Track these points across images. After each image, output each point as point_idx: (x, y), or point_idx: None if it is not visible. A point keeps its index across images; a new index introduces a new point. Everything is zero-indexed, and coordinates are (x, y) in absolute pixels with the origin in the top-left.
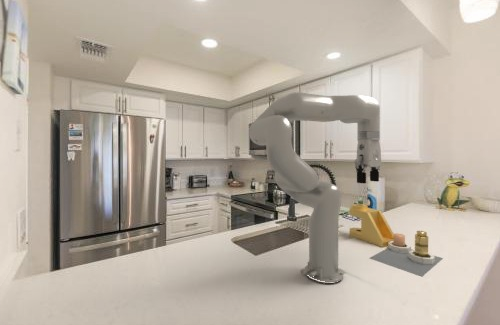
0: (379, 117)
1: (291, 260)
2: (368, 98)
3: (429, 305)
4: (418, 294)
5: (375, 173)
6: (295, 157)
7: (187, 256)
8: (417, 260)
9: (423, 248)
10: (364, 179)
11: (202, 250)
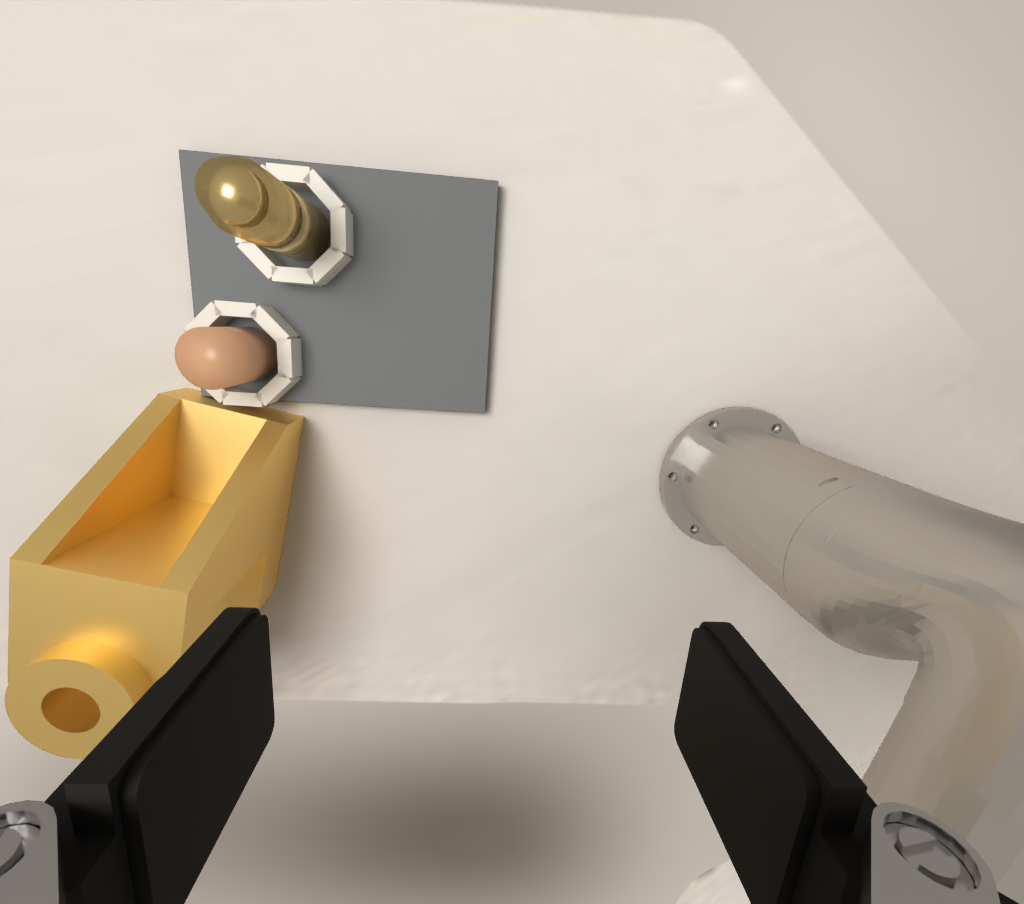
0: None
1: (709, 613)
2: None
3: (680, 117)
4: (628, 167)
5: (180, 779)
6: None
7: None
8: (349, 234)
9: (299, 197)
10: (757, 676)
11: None
